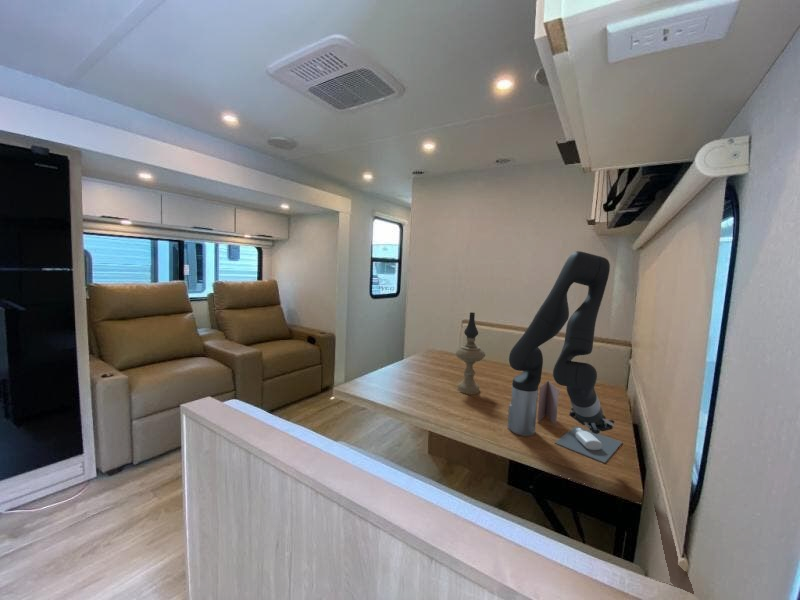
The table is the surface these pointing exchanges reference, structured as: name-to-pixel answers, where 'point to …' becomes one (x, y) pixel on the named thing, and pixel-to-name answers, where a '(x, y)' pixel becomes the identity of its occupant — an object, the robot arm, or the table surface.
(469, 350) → the oil lamp
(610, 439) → the mat
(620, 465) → the table surface
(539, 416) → the greeting card
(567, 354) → the robot arm
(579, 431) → the eye dropper bottle
